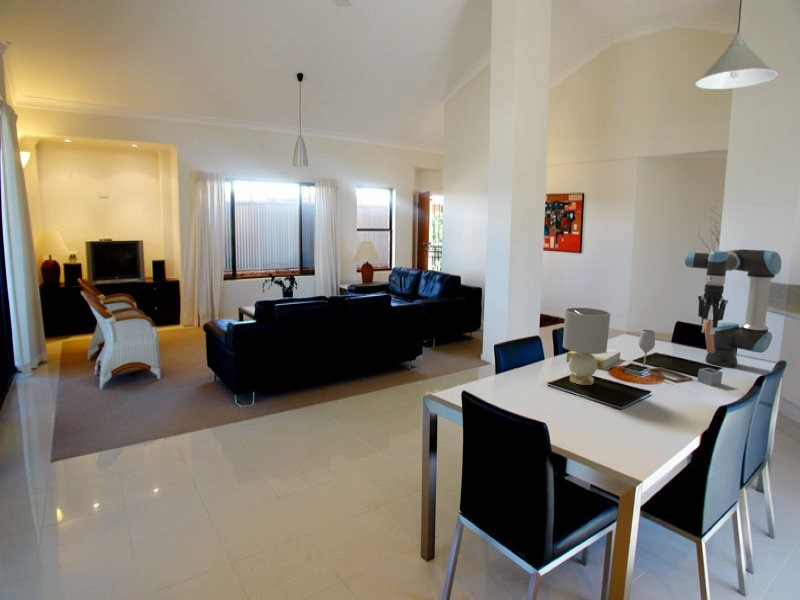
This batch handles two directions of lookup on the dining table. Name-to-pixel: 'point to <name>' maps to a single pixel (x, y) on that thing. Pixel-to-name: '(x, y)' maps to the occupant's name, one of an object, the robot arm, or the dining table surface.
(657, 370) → the tray
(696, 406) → the dining table surface
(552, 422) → the dining table surface
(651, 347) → the wineglass
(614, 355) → the cereal box
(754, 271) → the robot arm
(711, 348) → the tan rounded bar
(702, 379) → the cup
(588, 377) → the lamp
